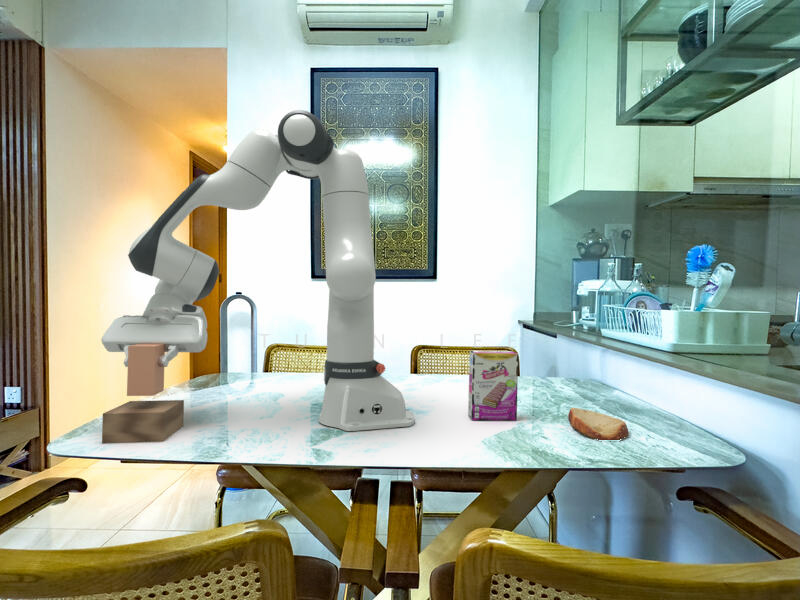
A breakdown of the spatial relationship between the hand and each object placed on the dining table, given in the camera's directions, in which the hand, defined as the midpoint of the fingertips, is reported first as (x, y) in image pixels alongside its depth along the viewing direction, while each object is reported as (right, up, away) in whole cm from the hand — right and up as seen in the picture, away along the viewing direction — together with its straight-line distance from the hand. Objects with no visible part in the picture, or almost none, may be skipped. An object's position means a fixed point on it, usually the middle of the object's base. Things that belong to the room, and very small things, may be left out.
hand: (145, 365), depth 88 cm
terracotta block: (0, -6, +1) cm, 6 cm away
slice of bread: (+96, -16, +10) cm, 98 cm away
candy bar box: (+75, -16, +16) cm, 78 cm away
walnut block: (0, -15, 0) cm, 15 cm away
